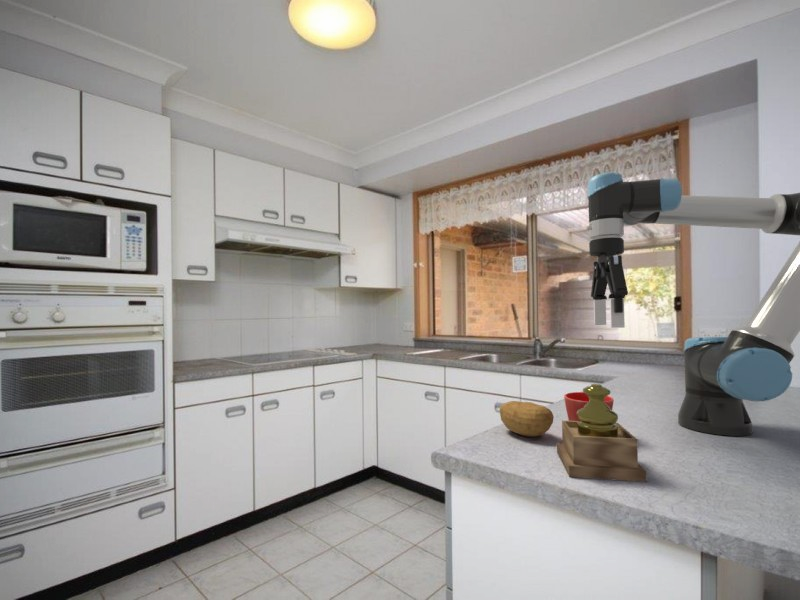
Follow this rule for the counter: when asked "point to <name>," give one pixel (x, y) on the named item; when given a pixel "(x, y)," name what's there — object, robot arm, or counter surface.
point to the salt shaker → (597, 414)
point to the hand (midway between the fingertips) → (608, 326)
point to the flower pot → (580, 403)
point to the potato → (526, 418)
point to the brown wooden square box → (600, 455)
